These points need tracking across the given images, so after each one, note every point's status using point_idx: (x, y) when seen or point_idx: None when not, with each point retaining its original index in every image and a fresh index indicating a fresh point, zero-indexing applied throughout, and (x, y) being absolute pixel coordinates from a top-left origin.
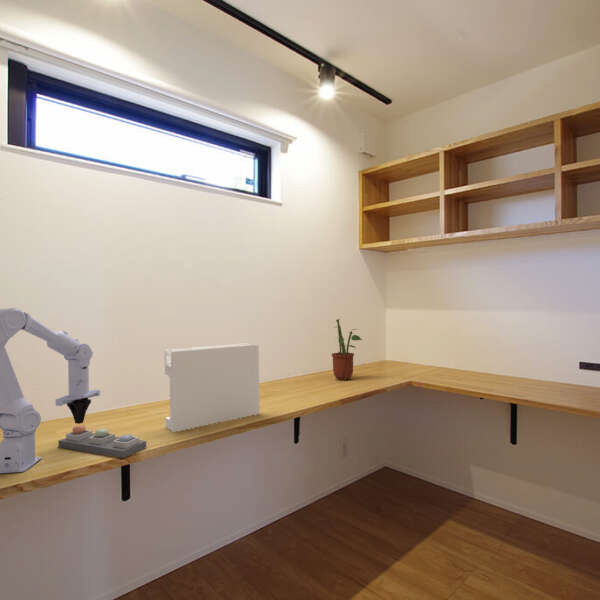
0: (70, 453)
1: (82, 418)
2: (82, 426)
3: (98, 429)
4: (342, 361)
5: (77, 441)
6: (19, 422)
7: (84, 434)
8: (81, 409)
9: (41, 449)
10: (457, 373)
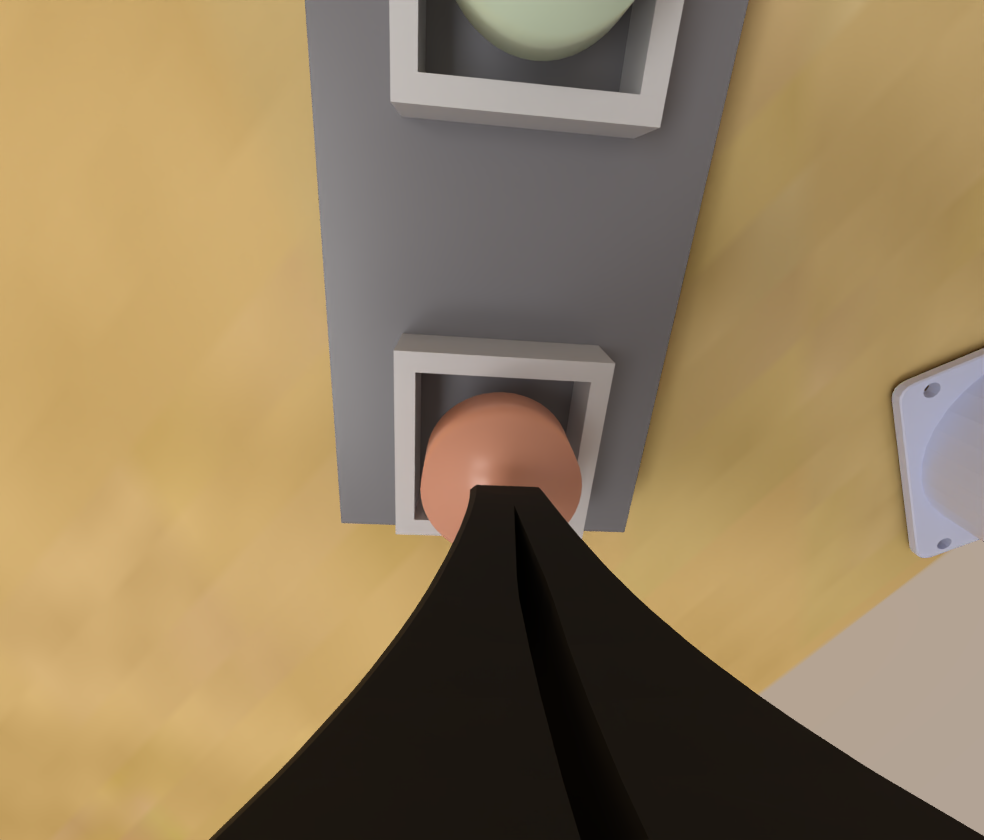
0: (745, 249)
1: (510, 517)
2: (465, 470)
3: (533, 23)
4: None
5: (617, 328)
6: None
7: (510, 354)
8: (631, 676)
9: (673, 567)
10: None
